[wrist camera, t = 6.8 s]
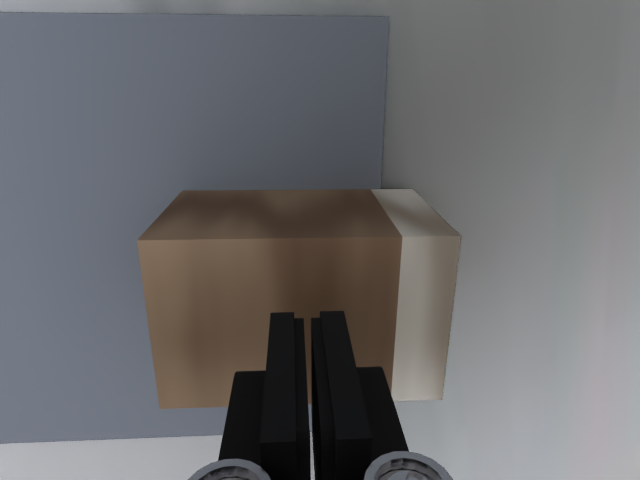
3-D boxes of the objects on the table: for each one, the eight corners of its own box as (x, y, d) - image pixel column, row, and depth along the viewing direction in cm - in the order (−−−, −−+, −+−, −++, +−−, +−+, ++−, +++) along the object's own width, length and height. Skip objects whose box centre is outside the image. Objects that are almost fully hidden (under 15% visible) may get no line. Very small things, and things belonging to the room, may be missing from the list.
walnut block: (461, 236, 12) (136, 240, 11) (442, 399, 13) (159, 408, 13) (412, 188, 16) (182, 190, 16) (403, 314, 18) (194, 319, 18)
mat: (386, 17, 15) (389, 16, 14) (367, 422, 20) (368, 428, 20) (-143, 11, 14) (-154, 10, 14) (-14, 437, 19) (-20, 444, 19)
